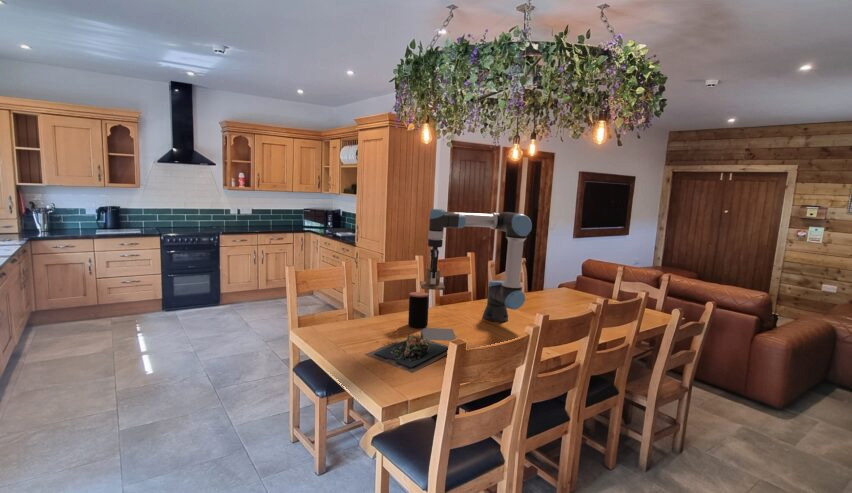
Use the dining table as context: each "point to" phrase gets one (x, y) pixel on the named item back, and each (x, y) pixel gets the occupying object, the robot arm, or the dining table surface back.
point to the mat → (438, 334)
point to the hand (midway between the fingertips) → (432, 283)
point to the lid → (427, 284)
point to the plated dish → (410, 353)
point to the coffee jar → (418, 309)
